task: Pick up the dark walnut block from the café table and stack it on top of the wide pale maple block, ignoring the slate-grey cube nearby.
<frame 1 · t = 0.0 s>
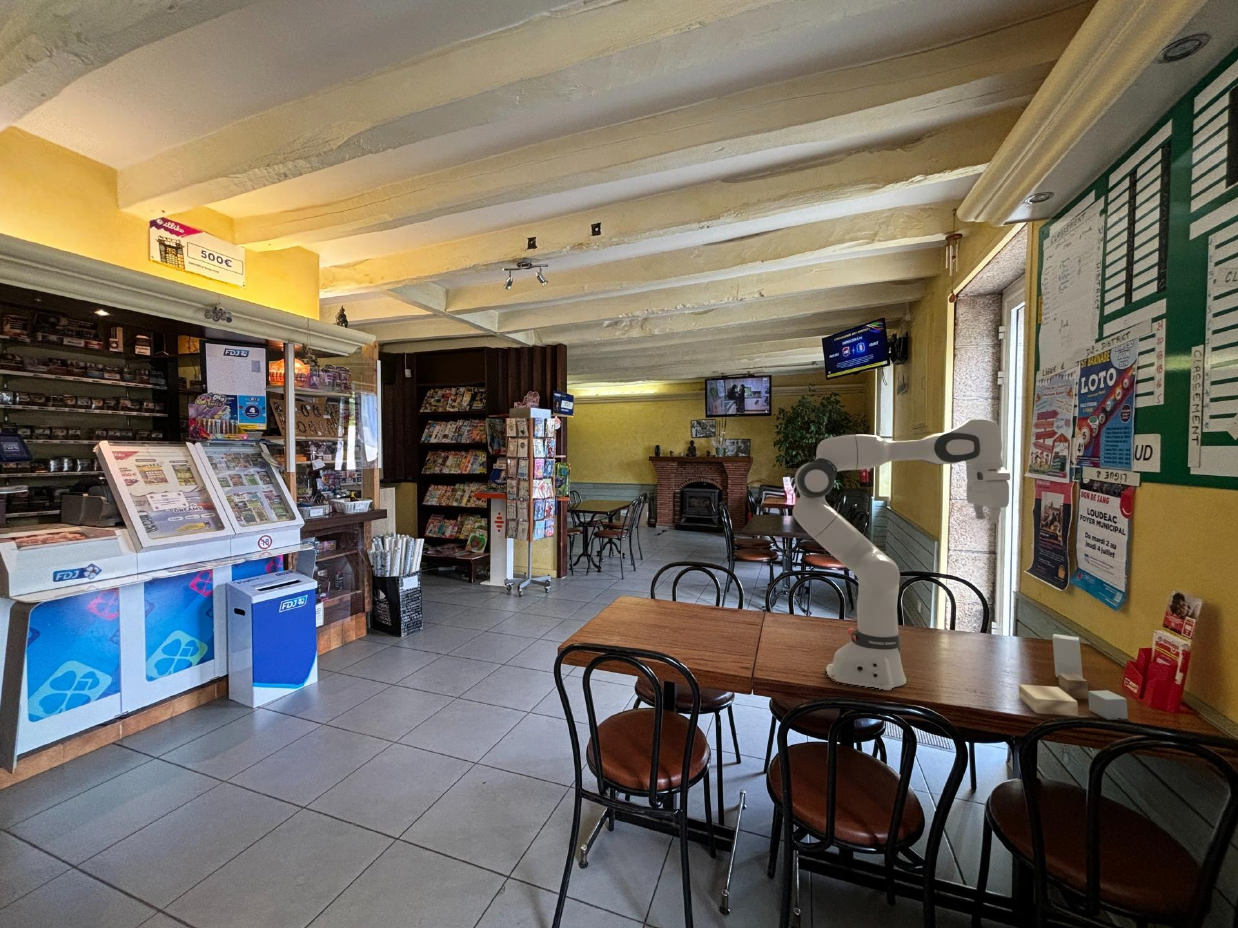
hand: (987, 520, 149), 48 cm above the table, fingers open, 8 cm apart
walnut block: (1073, 695, 141), on the table
skincare box: (1068, 678, 152), on the table
maple pedestal: (1047, 707, 135), on the table
slate cube: (1108, 714, 129), on the table
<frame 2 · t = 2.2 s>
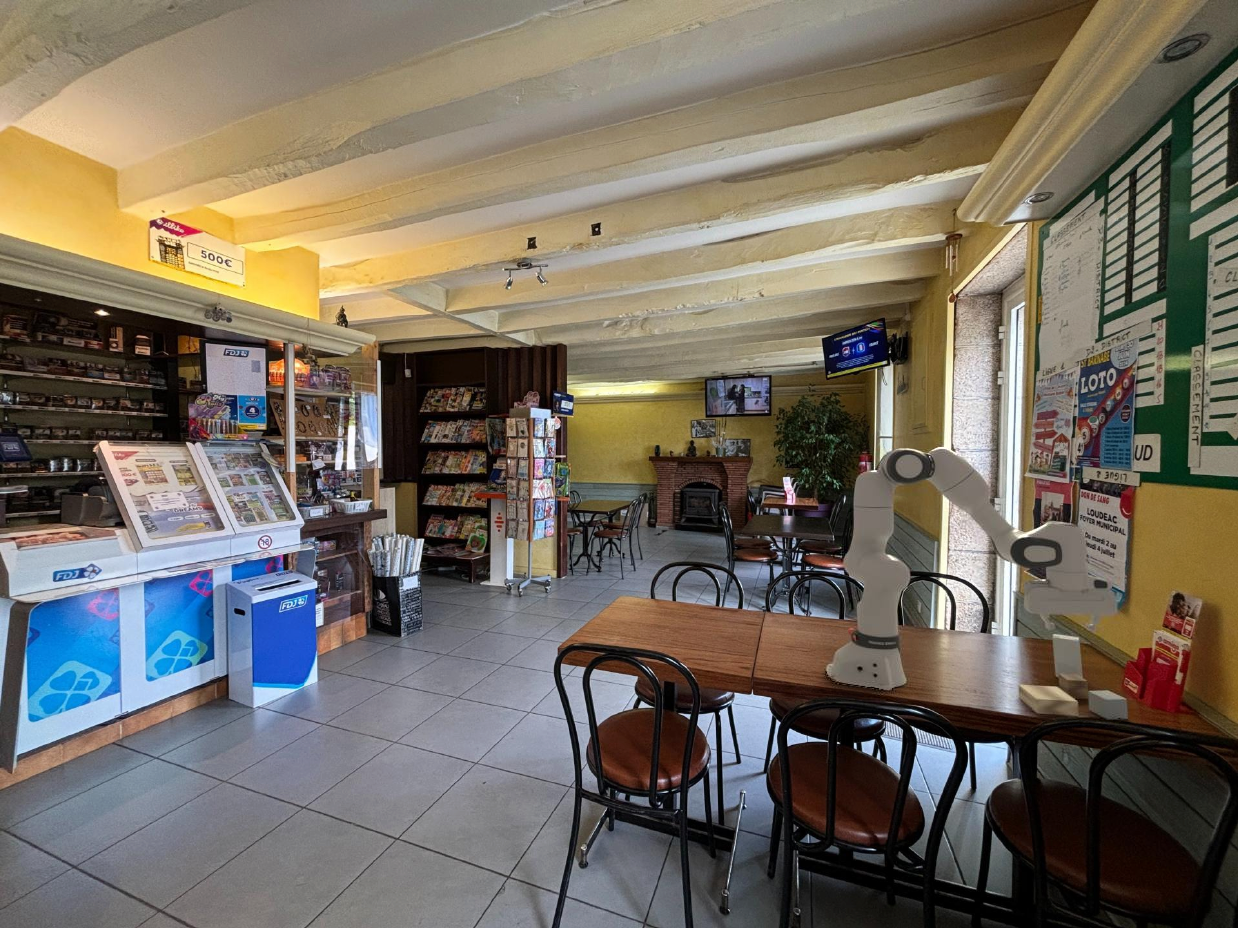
hand: (1070, 629, 141), 18 cm above the table, fingers open, 8 cm apart
nothing on the table moved.
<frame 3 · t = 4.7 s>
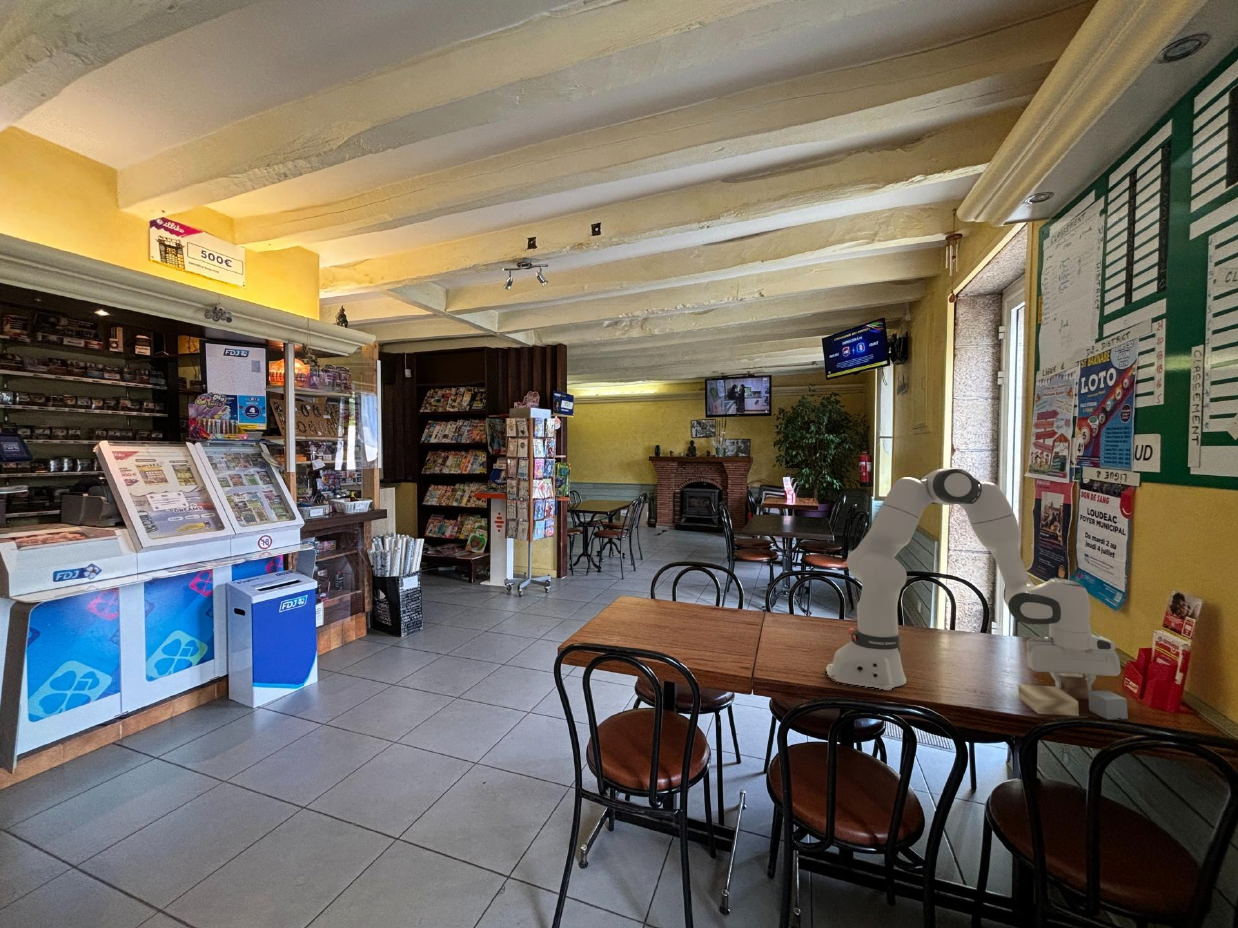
hand: (1073, 688, 141), 2 cm above the table, fingers closed on walnut block, 4 cm apart
walnut block: (1073, 694, 141), on the table, touching gripper
everything else where it was.
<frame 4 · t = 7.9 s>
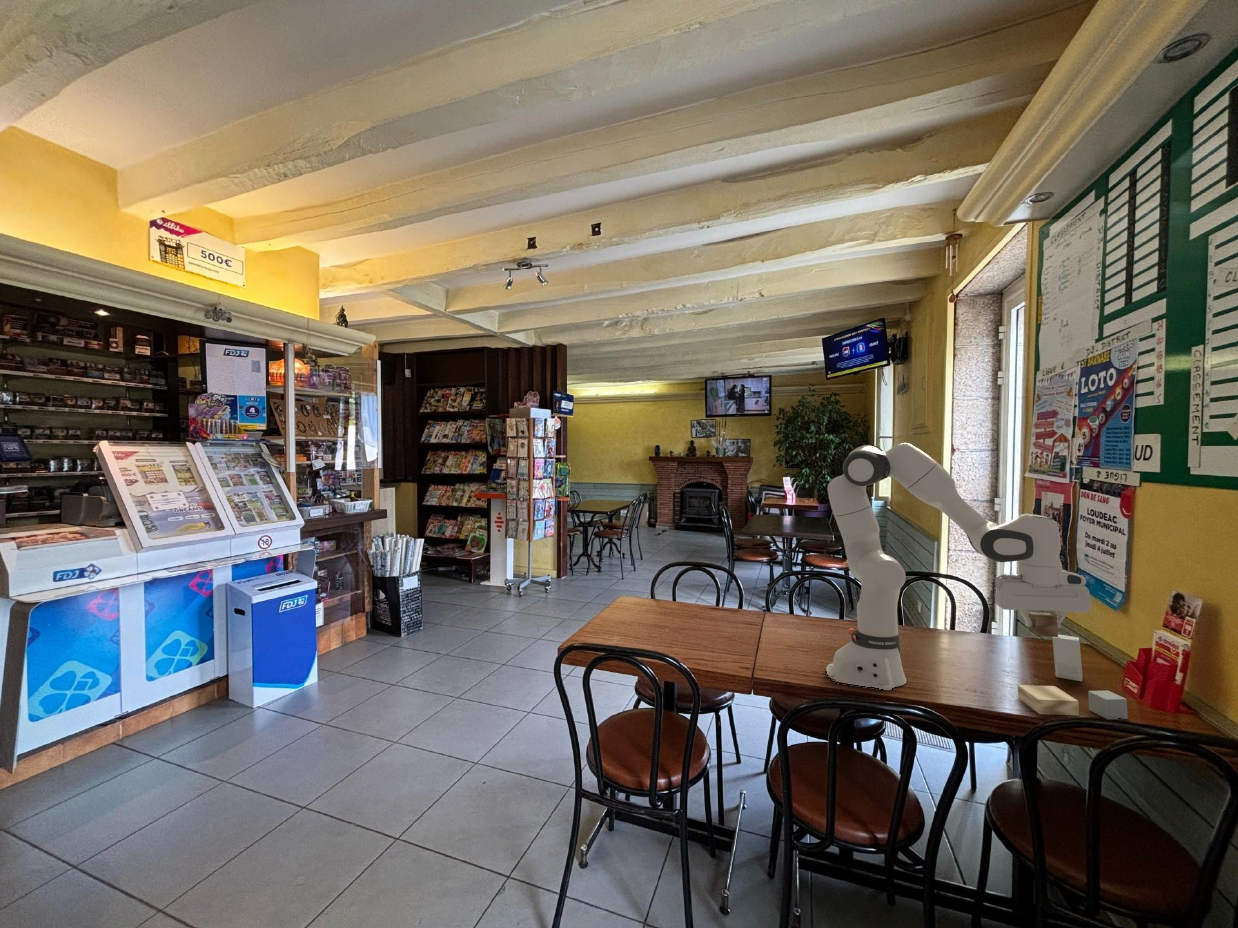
hand: (1042, 627, 135), 21 cm above the table, fingers closed on walnut block, 4 cm apart
walnut block: (1043, 633, 135), point 19 cm above the table, touching gripper
everything else where it was.
when the fingers open (6 cm above the table, at t = 11.4 s): walnut block drops 1 cm, resting on maple pedestal.
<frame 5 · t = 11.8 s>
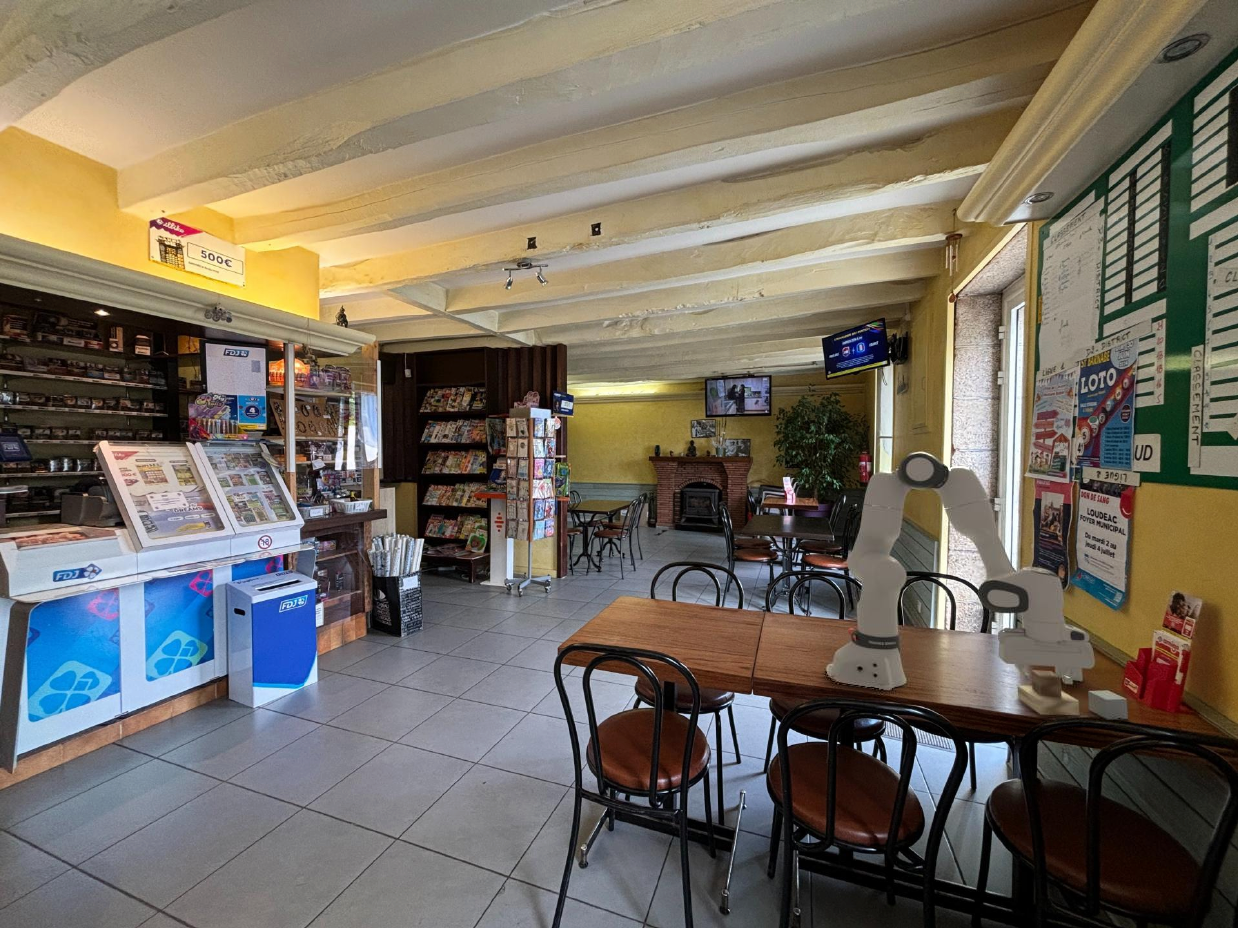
hand: (1046, 681, 135), 6 cm above the table, fingers open, 8 cm apart
walnut block: (1046, 692, 135), point 4 cm above the table, touching maple pedestal
maple pedestal: (1047, 708, 135), on the table, touching walnut block
everything else where it was.
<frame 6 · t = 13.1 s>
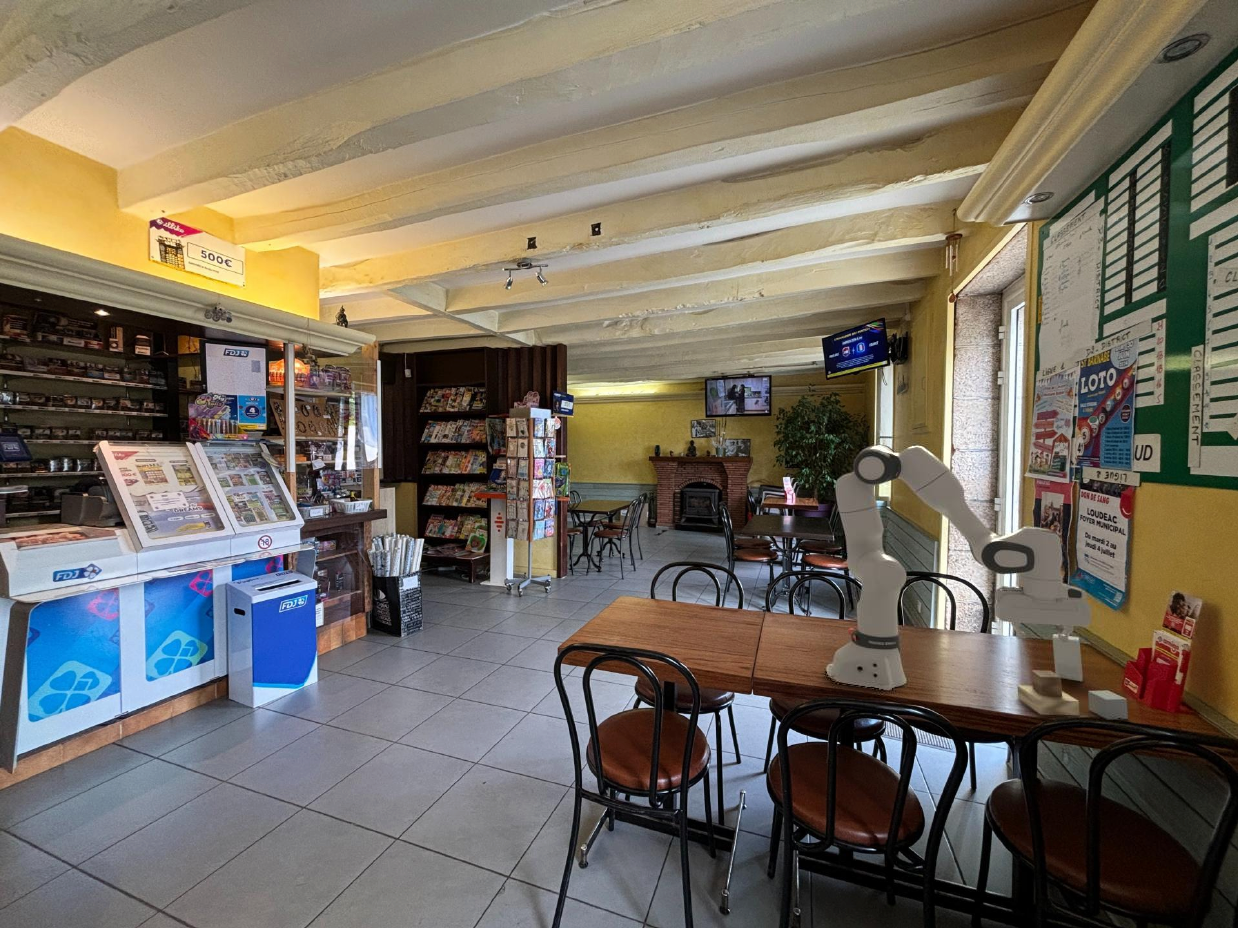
hand: (1041, 640, 135), 17 cm above the table, fingers open, 8 cm apart
nothing on the table moved.
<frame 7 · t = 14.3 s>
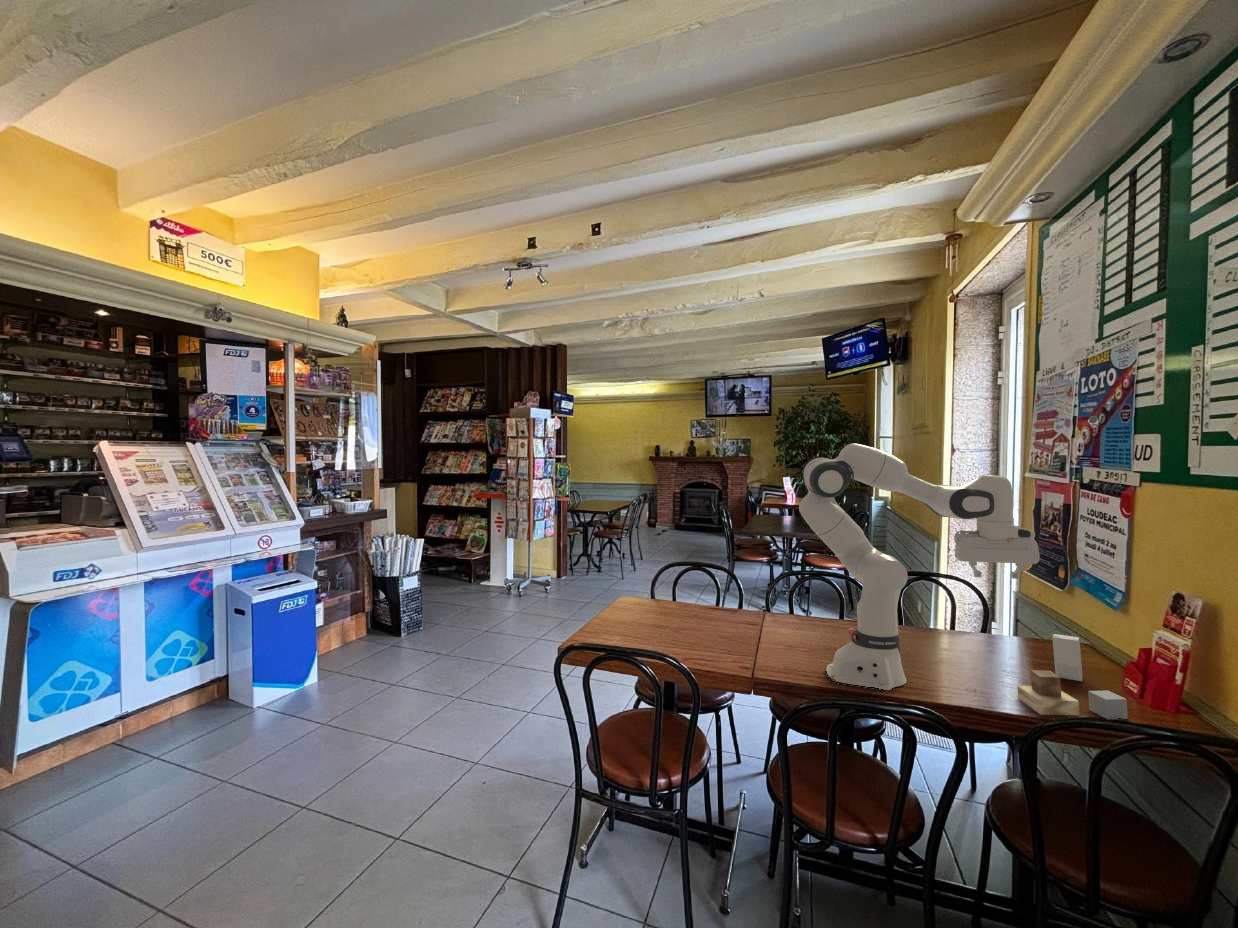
hand: (996, 577, 149), 31 cm above the table, fingers open, 8 cm apart
nothing on the table moved.
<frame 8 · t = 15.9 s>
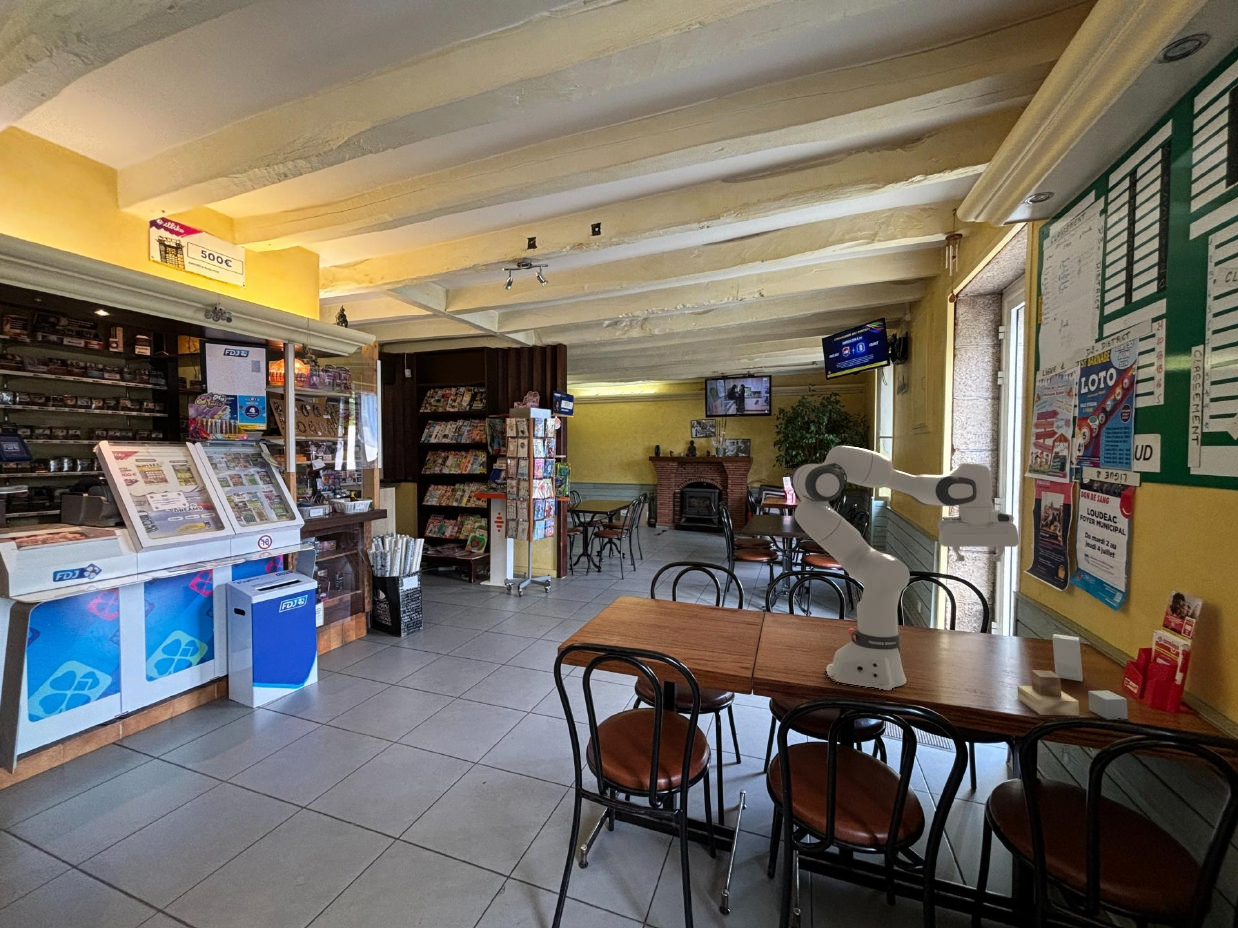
hand: (978, 561, 155), 35 cm above the table, fingers open, 8 cm apart
nothing on the table moved.
at the end: walnut block inside the target area on the maple pedestal (0.3 cm from its centre), point 4.0 cm above the maple pedestal's base; walnut block tilted 0°; the gripper is holding nothing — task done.
